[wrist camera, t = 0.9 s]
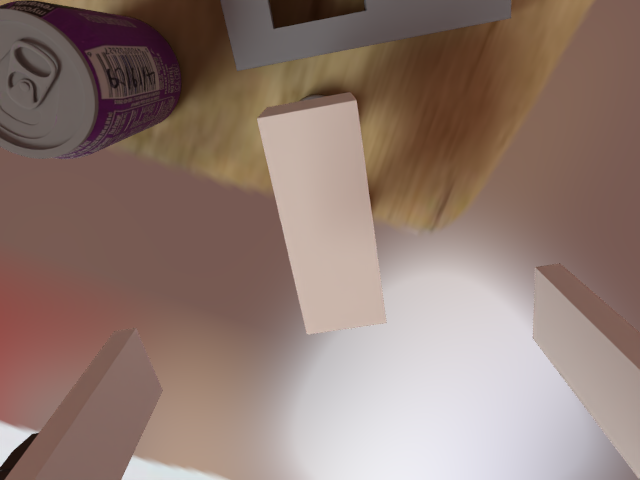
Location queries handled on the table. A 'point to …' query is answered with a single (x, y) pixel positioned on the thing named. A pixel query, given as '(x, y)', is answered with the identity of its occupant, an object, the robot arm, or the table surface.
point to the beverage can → (79, 79)
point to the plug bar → (325, 209)
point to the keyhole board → (346, 27)
